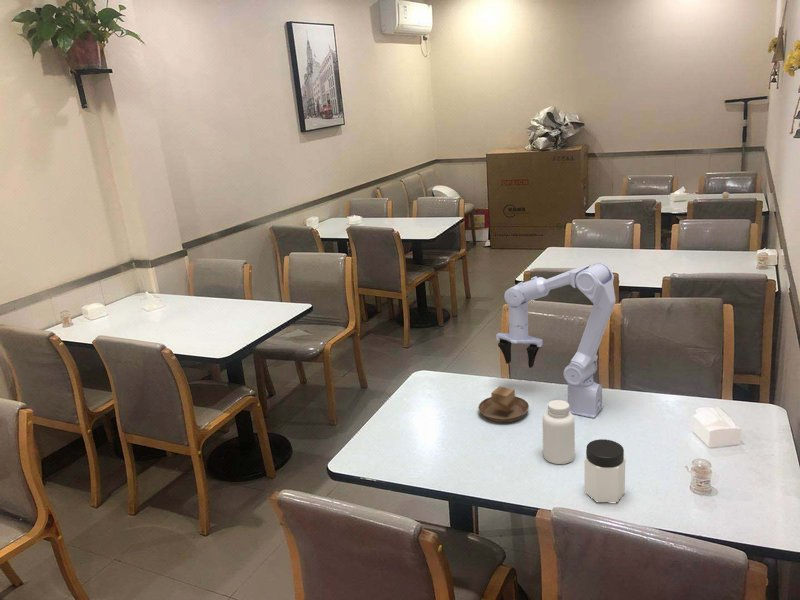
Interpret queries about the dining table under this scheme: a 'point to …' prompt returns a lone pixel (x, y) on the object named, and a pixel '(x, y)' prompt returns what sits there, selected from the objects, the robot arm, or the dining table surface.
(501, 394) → the cube
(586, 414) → the robot arm
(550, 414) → the pill bottle
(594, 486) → the jar
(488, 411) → the saucer
